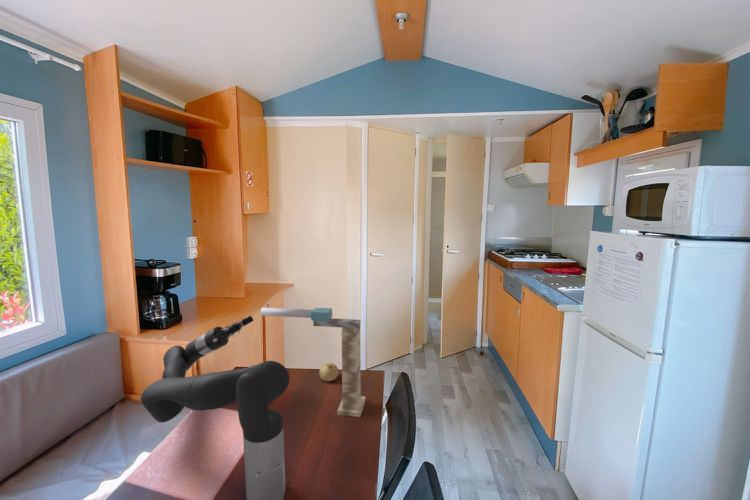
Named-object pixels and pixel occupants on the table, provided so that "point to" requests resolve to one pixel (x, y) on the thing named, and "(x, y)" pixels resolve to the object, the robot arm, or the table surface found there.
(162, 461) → the table surface
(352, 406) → the rail stand
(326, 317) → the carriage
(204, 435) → the table surface
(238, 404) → the robot arm
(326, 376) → the onion
